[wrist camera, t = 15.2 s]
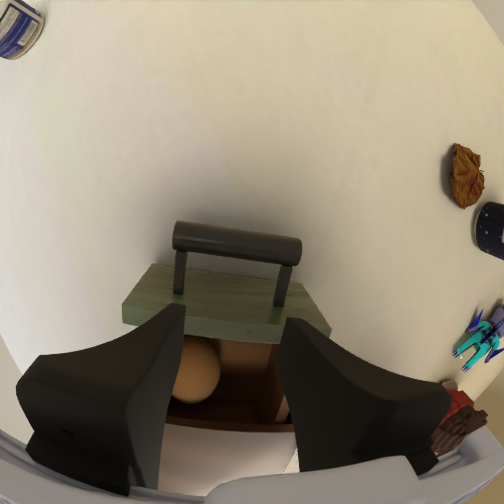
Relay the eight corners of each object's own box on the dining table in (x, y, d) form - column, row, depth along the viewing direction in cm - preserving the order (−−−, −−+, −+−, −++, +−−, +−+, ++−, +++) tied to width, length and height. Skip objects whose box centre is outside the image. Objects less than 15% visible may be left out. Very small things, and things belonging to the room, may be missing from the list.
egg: (191, 369, 15) (191, 428, 16) (236, 341, 18) (228, 399, 20) (145, 336, 17) (150, 396, 19) (190, 316, 21) (189, 373, 22)
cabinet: (146, 344, 22) (119, 414, 14) (284, 360, 24) (306, 431, 16) (152, 431, 26) (141, 488, 18) (257, 442, 27) (266, 499, 19)
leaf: (474, 211, 22) (485, 213, 20) (440, 204, 21) (453, 206, 19) (473, 153, 21) (485, 153, 19) (439, 137, 20) (451, 135, 18)
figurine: (466, 383, 24) (516, 333, 24) (485, 371, 20) (534, 315, 20) (444, 346, 28) (494, 302, 28) (459, 329, 24) (509, 281, 24)
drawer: (157, 206, 18) (122, 223, 12) (314, 230, 20) (353, 257, 13) (152, 386, 23) (137, 440, 16) (269, 398, 24) (280, 453, 18)
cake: (428, 377, 28) (500, 466, 11) (464, 371, 29) (528, 440, 12) (392, 430, 30) (440, 515, 13) (431, 420, 32) (479, 490, 14)
